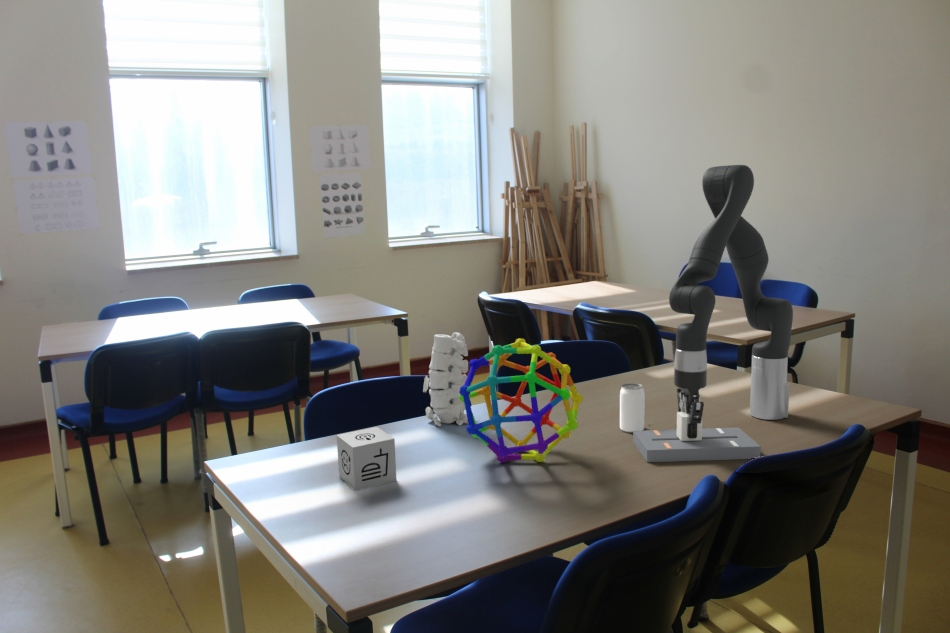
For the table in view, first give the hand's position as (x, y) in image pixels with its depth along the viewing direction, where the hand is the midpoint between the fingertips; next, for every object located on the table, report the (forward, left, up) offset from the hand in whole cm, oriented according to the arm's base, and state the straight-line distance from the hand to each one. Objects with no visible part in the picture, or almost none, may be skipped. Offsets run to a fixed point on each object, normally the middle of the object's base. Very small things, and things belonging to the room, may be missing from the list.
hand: (689, 434), depth 179 cm
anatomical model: (+59, -29, -4) cm, 66 cm away
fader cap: (0, 0, -1) cm, 1 cm away
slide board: (-1, 0, -4) cm, 4 cm away
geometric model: (+42, +2, -4) cm, 42 cm away
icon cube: (+78, +11, -4) cm, 78 cm away
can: (+10, -17, -4) cm, 20 cm away
